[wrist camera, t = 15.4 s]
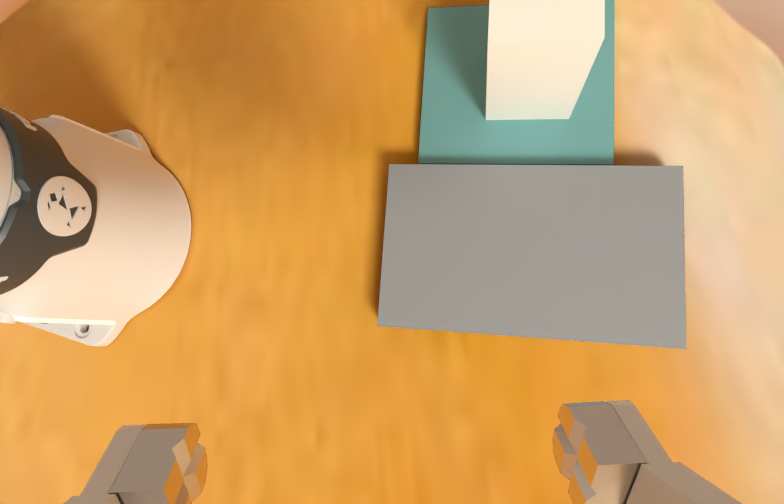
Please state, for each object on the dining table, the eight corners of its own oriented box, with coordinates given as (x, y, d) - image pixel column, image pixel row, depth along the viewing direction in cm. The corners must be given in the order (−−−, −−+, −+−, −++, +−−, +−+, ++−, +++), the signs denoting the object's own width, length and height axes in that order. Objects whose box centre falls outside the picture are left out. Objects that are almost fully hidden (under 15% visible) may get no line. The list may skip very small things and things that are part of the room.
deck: (382, 325, 35) (377, 325, 33) (394, 172, 37) (389, 164, 35) (673, 347, 31) (686, 349, 29) (671, 175, 33) (683, 165, 31)
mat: (419, 166, 36) (418, 163, 36) (429, 14, 38) (428, 8, 38) (610, 168, 34) (613, 164, 33) (611, 4, 36) (614, -3, 35)
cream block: (485, 120, 35) (487, 42, 26) (488, 46, 36) (491, -56, 26) (569, 118, 34) (604, 37, 24) (570, 43, 35) (605, -65, 25)
